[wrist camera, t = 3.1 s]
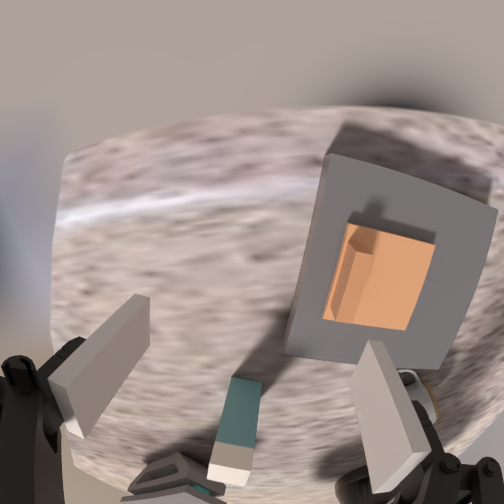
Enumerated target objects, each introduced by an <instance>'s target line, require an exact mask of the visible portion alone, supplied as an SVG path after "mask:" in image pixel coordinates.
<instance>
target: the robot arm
mask: <svg viewBox="0 0 504 504" xmlns="http://www.w3.org/2000/svg"><path fill="white" fill-rule="evenodd" d="M149 345H150V298H149V297H146V296H142V295H138V294H135V295H133V296H132V297H131V298H130V299H129V300H128V301H127V302H126V303H125V304H124V305H123V306H121V307H120V308H119V309H118V310H117V311H116V312H115V313H114V314H113V315H112V316H111V317H110V318H109V319H107V320H106V321H105V322H104V323H103V324H102V325H101V326H100V327H99V328H98V329H97V330H96V331H95V332H94V333H93V334H92V335H91V336H90V337H89V338H88V339H84V338H82V337H80V336H79V337H77V338H75V339H72V340H70V341H68V342H67V343H66V344H65V345H64V346H63V347H62V348H61V350H58V351H57V352H56V353H55V355H53V356H52V357H51V358H50V359H49V360H48V361H47V362H46V363H45V364H44V365H43V366H41V367H40V368H39V369H38V370H37V371H36V368H35V365H34V363H33V361H32V360H31V359H29V358H28V357H26V356H22V355H19V356H12V357H9V358H8V359H7V360H5V361H4V362H3V364H2V365H1V368H2V370H3V373H4V375H5V377H2V376H0V504H65V501H64V492H63V480H62V461H61V431H60V428H59V427H60V426H61V425H62V423H63V422H64V423H65V425H66V427H67V430H68V431H70V432H71V433H73V434H75V435H77V436H79V437H81V438H83V439H85V438H86V437H87V435H88V434H89V432H90V431H91V429H92V428H93V426H94V425H95V423H96V422H97V420H98V419H99V417H100V416H101V414H102V413H103V411H104V410H105V408H106V407H107V406H108V404H109V403H110V401H111V400H112V398H113V397H114V395H115V394H116V392H117V391H118V390H119V388H120V387H121V385H122V384H123V382H124V381H125V379H126V378H127V377H128V375H129V374H130V372H131V371H132V369H133V368H134V367H135V365H136V364H137V362H138V361H139V359H140V358H141V357H142V355H143V354H144V352H145V351H146V350H147V348H148V347H149ZM349 386H350V390H351V394H352V399H353V403H354V407H355V411H356V415H357V420H358V424H359V428H360V433H361V437H362V442H363V447H364V451H365V456H366V461H367V466H365V467H362V468H360V469H357V470H355V471H352V472H350V473H348V474H347V475H345V476H343V477H342V478H341V479H339V480H338V481H337V483H336V484H335V493H336V497H337V499H338V501H339V502H340V504H469V503H471V502H472V504H504V482H503V477H502V472H501V468H500V465H499V463H498V462H497V461H496V460H495V459H493V458H491V457H484V458H482V459H481V460H480V461H479V462H478V463H477V464H476V465H466V464H461V462H460V460H459V459H458V458H457V457H456V456H454V455H452V454H450V453H445V452H444V450H443V447H442V445H441V442H440V440H439V438H438V436H437V433H436V431H435V429H434V427H432V425H433V424H432V422H431V420H430V419H429V416H428V413H427V411H426V409H425V408H424V407H423V406H422V405H421V404H420V403H419V402H418V400H412V401H411V400H410V398H409V396H408V393H407V391H406V389H405V387H404V385H403V383H402V380H401V378H400V376H399V374H398V372H397V370H396V368H395V366H394V364H393V362H392V360H391V358H390V356H389V354H388V352H387V350H386V348H385V346H384V344H383V342H382V341H374V340H368V342H367V344H366V346H365V349H364V351H363V353H362V356H361V358H360V360H359V363H358V365H357V367H356V369H355V371H354V373H353V376H352V378H351V380H350V382H349Z"/></svg>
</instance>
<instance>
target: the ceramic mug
mask: <svg viewBox="0 0 504 504" xmlns="http://www.w3.org/2000/svg"><path fill="white" fill-rule="evenodd" d="M396 370H397V372H401V373H402V372H410V373H412V374H413V375H414V377H415V380H416V382H415V383H413V384H410V385H408V386H406V387H405V389H406V391H407V393H408V396H409V398H410V400H411V401H412V400H418V402H419V403H420V404H421V405H422V406H423V407H424V408H425V409H426V411H427V413H428V416H429V419H430V420H431V422H432V424H434V423H435V422H436V421H437V420H438V418H439V407H438V404H437V401H436V398H435V395H434V393H433V391H432V389H431V387H430V386H429V385H428V384H427V383H426V382H424V381H420V378H419V377H418V375H417V373H416V372H415V371H414V370H413V369H410V368H396Z"/></svg>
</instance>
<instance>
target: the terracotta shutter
mask: <svg viewBox="0 0 504 504" xmlns="http://www.w3.org/2000/svg"><path fill="white" fill-rule="evenodd" d="M434 249H435V245H434V244H432V243H429V242H425V241H421V240H418V239H414V238H410V237H406V236H402V235H398V234H394V233H390V232H386V231H382V230H378V229H374V228H370V227H366V226H361V225H357V224H353V223H348V222H347V225H346V229H345V233H344V237H343V241H342V245H341V249H340V253H339V257H338V261H337V265H336V268H335V272H334V276H333V279H332V283H331V286H330V290H329V293H328V297H327V300H326V303H325V307H324V310H323V313H322V317H323V319H327V320H333V321H336V322H343V323H349V324H359V325H366V326H373V327H381V328H388V329H396V330H406V327H407V325H408V323H409V320H410V318H411V315H412V313H413V310H414V308H415V305H416V302H417V300H418V297H419V294H420V292H421V289H422V286H423V283H424V280H425V277H426V274H427V271H428V268H429V265H430V262H431V259H432V256H433V252H434Z"/></svg>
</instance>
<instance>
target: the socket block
mask: <svg viewBox="0 0 504 504" xmlns="http://www.w3.org/2000/svg"><path fill="white" fill-rule="evenodd" d="M497 214H498V210H497V209H495V208H493V207H490V206H488V205H486V204H484V203H481V202H479V201H477V200H474V199H472V198H470V197H467V196H465V195H462V194H460V193H457V192H455V191H452V190H450V189H447V188H445V187H442V186H439V185H436V184H434V183H431V182H428V181H425V180H422V179H420V178H417V177H414V176H411V175H408V174H405V173H401V172H398V171H395V170H392V169H389V168H385V167H382V166H379V165H375V164H372V163H368V162H364V161H361V160H357V159H353V158H349V157H346V156H342V155H337V154H333V153H330V154H327V155H325V156H324V161H323V166H322V172H321V177H320V182H319V187H318V192H317V197H316V202H315V207H314V211H313V216H312V221H311V225H310V230H309V234H308V239H307V243H306V248H305V252H304V256H303V261H302V265H301V269H300V273H299V277H298V281H297V286H296V290H295V294H294V298H293V301H292V305H291V309H290V313H289V317H288V321H287V324H286V328H285V332H284V355H289V356H295V357H302V358H309V359H316V360H323V361H331V362H339V363H348V364H357V365H358V363H359V360H360V358H361V356H362V353H363V351H364V349H365V346H366V344H367V342H368V340H374V341H382V342H383V344H384V346H385V348H386V350H387V352H388V354H389V356H390V358H391V360H392V362H393V364H394V366H395V368H410V369H439V368H440V366H441V364H442V362H443V361H444V359H445V357H446V355H447V353H448V351H449V349H450V347H451V345H452V343H453V341H454V339H455V337H456V335H457V333H458V331H459V328H460V326H461V324H462V322H463V320H464V317H465V315H466V313H467V310H468V308H469V305H470V303H471V300H472V298H473V295H474V292H475V290H476V287H477V284H478V282H479V279H480V276H481V273H482V270H483V267H484V264H485V260H486V257H487V254H488V250H489V247H490V243H491V239H492V236H493V232H494V228H495V223H496V219H497ZM347 222H348V223H353V224H357V225H361V226H366V227H370V228H374V229H378V230H382V231H386V232H390V233H394V234H398V235H402V236H406V237H410V238H414V239H418V240H421V241H425V242H429V243H432V244H434V245H435V249H434V252H433V256H432V259H431V262H430V265H429V268H428V271H427V274H426V277H425V280H424V283H423V286H422V289H421V292H420V294H419V297H418V300H417V302H416V305H415V308H414V310H413V313H412V315H411V318H410V320H409V323H408V325H407V327H406V330H396V329H388V328H381V327H373V326H366V325H359V324H349V323H343V322H336V321H333V320H327V319H323V317H322V313H323V310H324V307H325V303H326V300H327V297H328V293H329V290H330V286H331V283H332V279H333V276H334V272H335V268H336V265H337V261H338V257H339V253H340V249H341V245H342V241H343V237H344V233H345V229H346V225H347Z"/></svg>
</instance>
